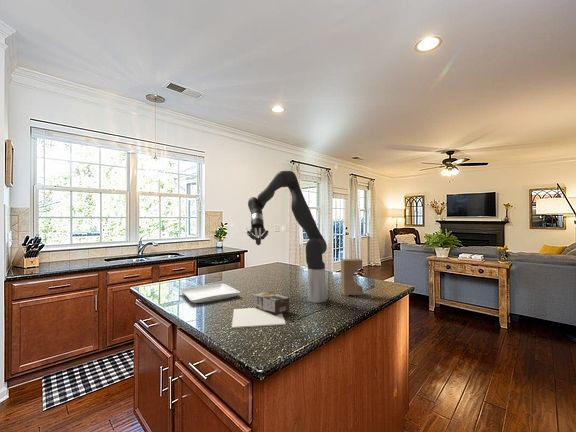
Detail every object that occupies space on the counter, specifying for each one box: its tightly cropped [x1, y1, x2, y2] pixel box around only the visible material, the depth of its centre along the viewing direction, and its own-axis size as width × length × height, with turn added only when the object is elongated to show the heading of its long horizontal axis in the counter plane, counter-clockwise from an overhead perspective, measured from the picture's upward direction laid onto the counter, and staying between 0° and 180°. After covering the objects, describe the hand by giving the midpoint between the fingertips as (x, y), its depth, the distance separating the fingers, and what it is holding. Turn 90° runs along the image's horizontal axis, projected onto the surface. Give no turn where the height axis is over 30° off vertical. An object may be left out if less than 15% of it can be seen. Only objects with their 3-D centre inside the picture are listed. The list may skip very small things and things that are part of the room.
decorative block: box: [340, 258, 364, 297], centre depth 159 cm, size 11×6×20 cm, turn 99°
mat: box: [231, 307, 287, 329], centre depth 124 cm, size 22×22×1 cm
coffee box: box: [253, 291, 290, 315], centre depth 132 cm, size 9×6×16 cm
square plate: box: [178, 283, 241, 304], centre depth 157 cm, size 27×27×4 cm
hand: (258, 244), depth 155 cm, fingers closed
